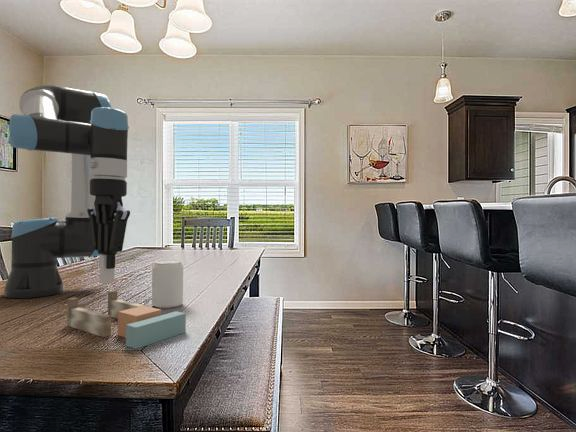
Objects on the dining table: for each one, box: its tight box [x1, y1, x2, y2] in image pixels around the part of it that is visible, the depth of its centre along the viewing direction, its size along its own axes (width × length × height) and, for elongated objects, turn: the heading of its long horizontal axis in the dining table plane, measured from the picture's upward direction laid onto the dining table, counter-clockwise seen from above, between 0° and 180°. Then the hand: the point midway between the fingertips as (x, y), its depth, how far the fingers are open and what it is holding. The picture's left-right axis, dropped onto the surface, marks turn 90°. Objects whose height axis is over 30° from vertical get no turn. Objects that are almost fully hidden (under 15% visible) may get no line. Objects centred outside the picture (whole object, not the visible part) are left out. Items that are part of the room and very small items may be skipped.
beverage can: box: [151, 259, 184, 309], centre depth 101 cm, size 8×8×12 cm
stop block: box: [125, 310, 187, 350], centre depth 74 cm, size 3×12×4 cm, turn 148°
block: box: [117, 305, 162, 339], centre depth 77 cm, size 6×6×5 cm
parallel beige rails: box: [66, 289, 151, 338], centre depth 83 cm, size 14×11×6 cm
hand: (106, 282), depth 84 cm, fingers closed
